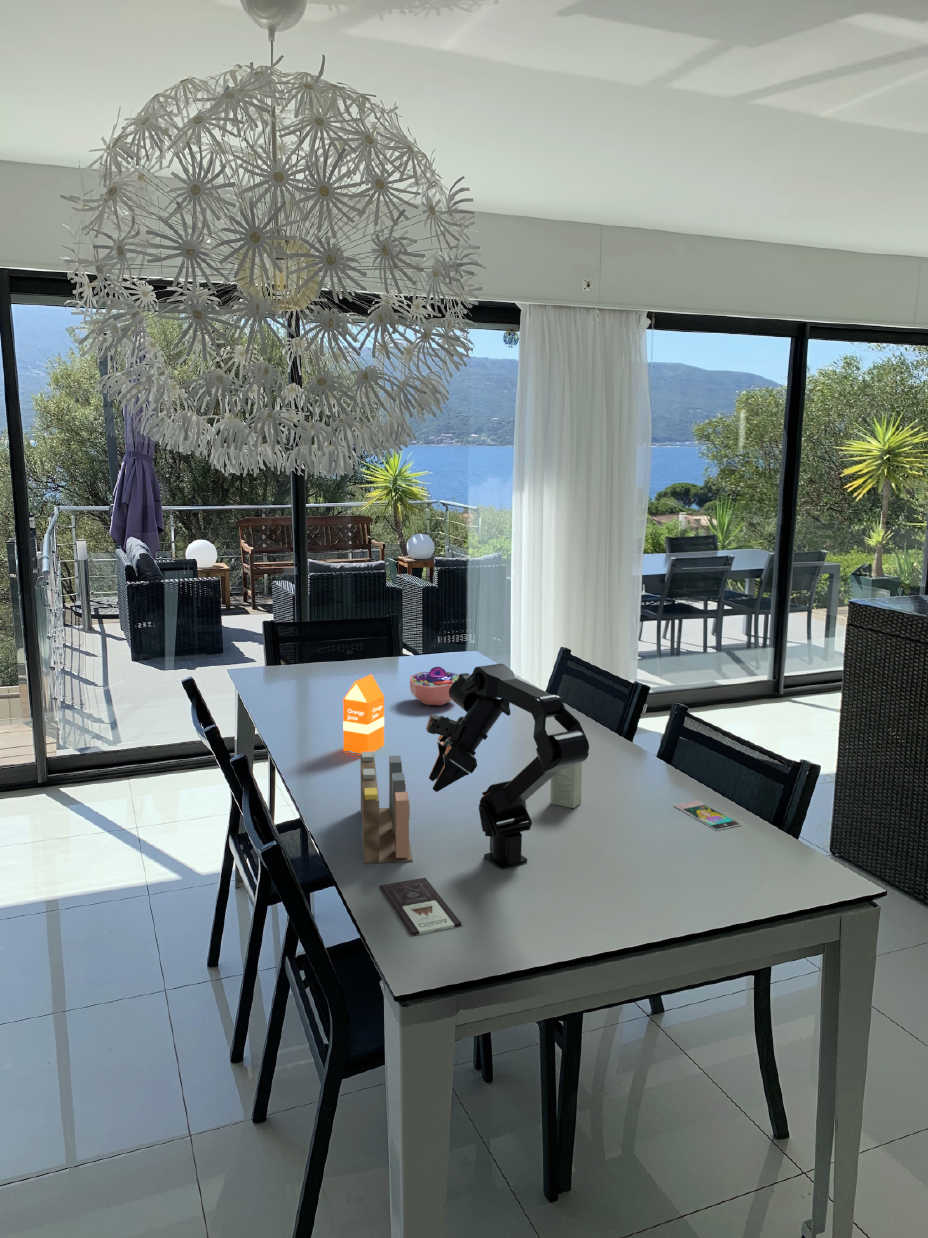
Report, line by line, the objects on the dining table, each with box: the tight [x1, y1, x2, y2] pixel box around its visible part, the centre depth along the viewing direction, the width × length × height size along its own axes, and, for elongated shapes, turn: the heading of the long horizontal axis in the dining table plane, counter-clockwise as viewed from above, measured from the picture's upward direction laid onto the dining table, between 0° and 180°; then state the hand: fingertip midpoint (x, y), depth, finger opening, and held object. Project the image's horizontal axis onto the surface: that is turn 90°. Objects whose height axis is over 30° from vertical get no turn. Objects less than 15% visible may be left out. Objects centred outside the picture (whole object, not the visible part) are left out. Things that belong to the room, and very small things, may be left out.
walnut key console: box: [359, 751, 413, 864], centre depth 190 cm, size 10×27×14 cm, turn 8°
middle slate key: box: [392, 772, 407, 835], centre depth 191 cm, size 3×4×12 cm, turn 8°
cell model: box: [409, 666, 459, 706], centre depth 290 cm, size 17×20×11 cm
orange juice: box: [342, 674, 385, 754], centre depth 244 cm, size 8×9×20 cm
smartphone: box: [673, 800, 742, 832], centre depth 204 cm, size 7×1×15 cm
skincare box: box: [550, 762, 583, 809], centre depth 209 cm, size 6×4×12 cm
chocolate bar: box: [379, 877, 462, 937], centre depth 162 cm, size 9×1×18 cm
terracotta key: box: [395, 791, 411, 858], centre depth 180 cm, size 3×4×12 cm, turn 8°
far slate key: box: [388, 755, 403, 814], centre depth 202 cm, size 3×4×12 cm, turn 8°
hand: (432, 785), depth 181 cm, fingers open, 9 cm apart
